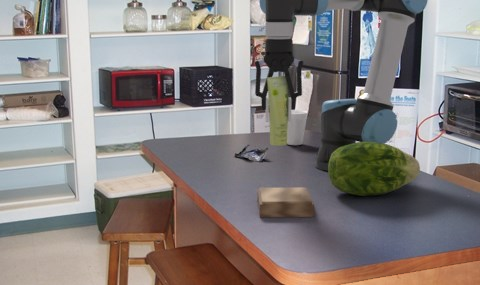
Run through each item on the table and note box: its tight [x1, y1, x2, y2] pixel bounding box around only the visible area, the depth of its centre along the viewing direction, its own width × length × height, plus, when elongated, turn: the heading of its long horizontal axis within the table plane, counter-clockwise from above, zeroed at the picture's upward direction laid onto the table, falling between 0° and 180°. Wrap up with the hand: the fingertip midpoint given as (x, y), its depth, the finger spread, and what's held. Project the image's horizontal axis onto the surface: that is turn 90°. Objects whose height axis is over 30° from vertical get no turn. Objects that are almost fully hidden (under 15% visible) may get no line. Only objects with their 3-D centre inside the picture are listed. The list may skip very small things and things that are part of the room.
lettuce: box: [327, 141, 421, 197], centre depth 180 cm, size 15×27×16 cm, turn 97°
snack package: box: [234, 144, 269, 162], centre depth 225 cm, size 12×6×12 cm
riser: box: [256, 186, 315, 218], centre depth 168 cm, size 14×14×4 cm
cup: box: [286, 109, 309, 146], centre depth 247 cm, size 10×10×13 cm
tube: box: [266, 75, 290, 147], centre depth 176 cm, size 6×5×20 cm
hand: (278, 120), depth 177 cm, fingers closed on tube, 6 cm apart
